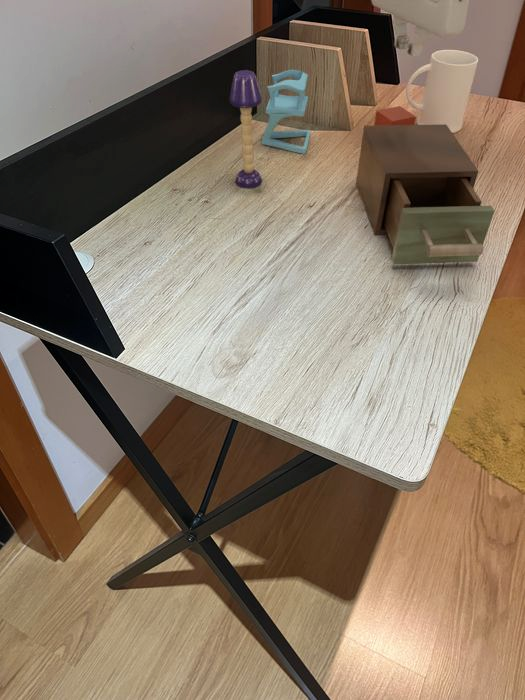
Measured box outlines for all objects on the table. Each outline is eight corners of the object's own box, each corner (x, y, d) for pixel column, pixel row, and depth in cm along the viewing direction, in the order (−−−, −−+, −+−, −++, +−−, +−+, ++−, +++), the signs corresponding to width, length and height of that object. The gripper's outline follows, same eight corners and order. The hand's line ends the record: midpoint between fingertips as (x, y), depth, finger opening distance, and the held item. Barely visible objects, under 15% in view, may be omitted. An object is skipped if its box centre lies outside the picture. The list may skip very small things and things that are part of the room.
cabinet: (460, 232, 83) (478, 170, 76) (374, 235, 82) (385, 173, 75) (432, 182, 93) (446, 124, 86) (355, 184, 92) (363, 125, 85)
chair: (265, 131, 106) (267, 62, 97) (310, 135, 105) (315, 66, 96) (259, 150, 100) (259, 79, 92) (306, 154, 99) (311, 82, 91)
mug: (402, 132, 106) (415, 64, 97) (396, 114, 112) (408, 47, 103) (466, 134, 106) (484, 66, 97) (457, 115, 112) (473, 49, 103)
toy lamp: (232, 188, 91) (229, 79, 79) (231, 174, 94) (228, 67, 82) (262, 188, 91) (264, 78, 79) (260, 173, 94) (261, 66, 82)
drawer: (490, 284, 73) (509, 232, 67) (402, 287, 72) (414, 235, 66) (447, 208, 86) (460, 159, 80) (372, 210, 85) (380, 161, 79)
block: (372, 137, 104) (376, 110, 101) (394, 133, 106) (399, 105, 102) (387, 149, 101) (392, 121, 98) (410, 144, 103) (416, 116, 99)
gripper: (490, -38, 77) (464, 69, 87) (403, -65, 90) (388, 31, 100) (453, -34, 75) (430, 75, 85) (369, -62, 88) (358, 35, 98)
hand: (407, 51), depth 93 cm, fingers closed
